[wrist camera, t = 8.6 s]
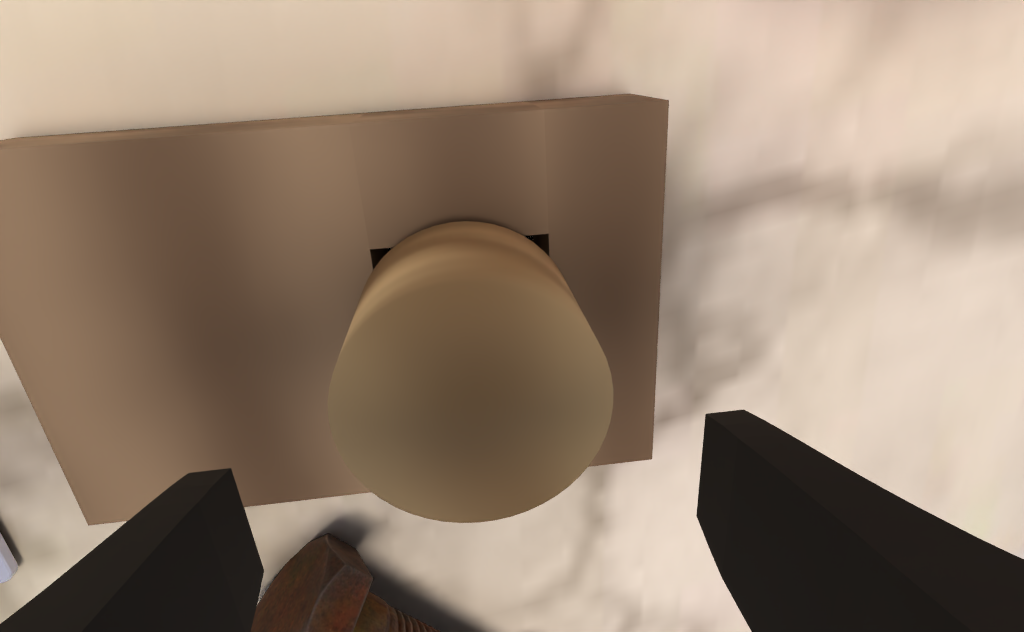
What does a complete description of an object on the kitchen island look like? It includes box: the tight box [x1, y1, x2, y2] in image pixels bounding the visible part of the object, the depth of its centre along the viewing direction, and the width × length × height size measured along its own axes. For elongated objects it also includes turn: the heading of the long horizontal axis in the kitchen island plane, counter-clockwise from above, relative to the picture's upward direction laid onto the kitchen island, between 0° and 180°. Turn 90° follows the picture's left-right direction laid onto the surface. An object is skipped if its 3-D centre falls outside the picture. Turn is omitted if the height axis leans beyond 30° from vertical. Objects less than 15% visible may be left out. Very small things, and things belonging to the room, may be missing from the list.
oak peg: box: [328, 221, 613, 523], centre depth 14 cm, size 5×5×8 cm
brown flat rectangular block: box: [0, 94, 669, 525], centre depth 16 cm, size 16×10×3 cm, turn 94°
